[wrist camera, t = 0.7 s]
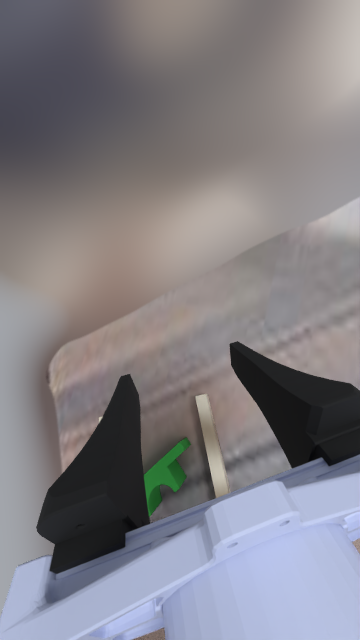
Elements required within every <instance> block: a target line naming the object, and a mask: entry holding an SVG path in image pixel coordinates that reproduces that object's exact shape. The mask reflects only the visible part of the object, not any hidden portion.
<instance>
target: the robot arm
mask: <svg viewBox="0 0 360 640" xmlns="http://www.w3.org/2000/svg"><path fill="white" fill-rule="evenodd" d="M230 355H231V366H232V368H233V369H234V371H235V373H236V375H237V377H238V378H239V380H240V381H241V383H242V384H243V385H244V387H245V388H246V390H247V391H248V392H249V394H250V395H251V396H252V398H253V399H254V401H255V402H256V403H257V405H258V406H259V408H260V410H261V411H262V413H263V415H264V416H265V418H266V420H267V422H268V423H269V425H270V427H271V429H272V430H273V432H274V434H275V436H276V438H277V440H278V442H279V443H280V445H281V447H282V449H283V451H284V453H285V455H286V457H287V459H288V461H289V463H290V465H291V467H292V469H290V470H287V471H285V472H282V473H280V474H277V475H275V476H272V477H269V478H267V479H264V480H262V481H259V482H257V483H254V484H251V485H249V486H246V487H244V488H241V489H238V490H236V491H233V492H231V493H228V494H226V495H223V496H220V497H218V498H215V499H213V500H210V501H208V502H205V503H202V504H200V505H197V506H195V507H192V508H189V509H187V510H184V511H182V512H179V513H177V514H174V515H171V516H169V517H166V518H164V519H161V520H159V521H156V522H153V523H151V524H150V519H149V512H148V505H147V498H146V490H145V482H144V473H143V465H142V455H141V424H140V402H139V394H138V392H137V390H136V387H135V385H134V383H133V380H132V378H131V376H130V374H128V375H124V376H121V377H120V379H119V382H118V384H117V387H116V389H115V392H114V394H113V396H112V399H111V401H110V403H109V405H108V407H107V409H106V411H105V413H104V415H103V417H102V419H101V421H100V422H99V424H98V426H97V428H96V429H95V431H94V432H93V434H92V436H91V437H90V439H89V440H88V442H87V443H86V444H85V446H84V447H83V449H82V450H81V451H80V453H79V454H78V455H77V457H76V458H75V459H74V460H73V462H72V463H71V464H70V465H69V467H68V468H67V469H66V470H65V471H64V472H63V474H62V475H61V476H60V477H59V478H58V479H57V480H56V481H55V483H54V484H53V485H52V486H51V487H50V488H49V489H48V492H47V495H46V497H45V500H44V503H43V506H42V510H41V513H40V517H39V520H38V524H37V527H36V528H37V532H38V533H39V534H40V535H41V536H42V537H44V538H46V539H47V540H49V541H51V542H52V543H54V544H55V547H54V552H53V555H45V556H41V557H39V558H36V559H34V560H31V561H28V562H26V563H23V564H21V565H19V566H18V567H17V568H16V570H15V573H14V576H13V579H12V582H11V586H10V589H9V592H8V595H7V598H6V601H5V604H4V607H3V610H2V614H1V617H0V640H132V639H135V638H138V637H140V636H143V635H146V634H148V633H151V632H153V631H156V630H159V629H161V628H164V627H165V638H166V640H360V554H359V552H358V551H357V549H356V548H355V546H354V545H353V544H352V542H353V541H355V540H357V539H359V538H360V390H358V389H357V388H356V387H354V386H353V385H352V384H350V383H345V382H339V381H334V380H329V379H325V378H321V377H317V376H313V375H310V374H306V373H303V372H300V371H297V370H294V369H292V368H289V367H286V366H284V365H281V364H279V363H277V362H275V361H273V360H270V359H268V358H266V357H264V356H263V355H261V354H259V353H257V352H255V351H253V350H252V349H250V348H248V347H246V346H245V345H243V344H241V343H240V342H238V341H237V342H234V343H231V344H230Z"/></svg>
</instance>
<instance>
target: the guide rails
mask: <svg viewBox="0 0 360 640" xmlns="http://www.w3.org/2000/svg"><path fill="white" fill-rule="evenodd" d="M195 398H196V403H197V407H198V412H199V417H200V422H201V427H202V432H203V437H204V442H205V446H206V451H207V456H208V461H209V466H210V471H211V476H212V480H213V485H214V490H215V495H216V498H218V497H220V496H223V495H226V494H228V493H231V491H230V487H229V483H228V479H227V474H226V470H225V466H224V461H223V457H222V453H221V448H220V444H219V440H218V436H217V431H216V427H215V423H214V418H213V414H212V410H211V405H210V401H209V397H208V395H207V394H203V395H199V396H195ZM101 419H102V417H99V422H100V421H101Z"/></svg>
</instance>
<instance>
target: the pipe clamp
mask: <svg viewBox="0 0 360 640" xmlns="http://www.w3.org/2000/svg"><path fill="white" fill-rule="evenodd" d="M190 445H191V443H190V442H189V441H188V439H187V438H185V439H183V440H182V441H180V442H179V443H178V444H177V445H176V446H175V447H174V448H172V449H171V450H170V451H169V452H168V453H167V454H166V455H165V456H164V457H163V458H162V459H161V460H159V461H158V462H157V463H156V464H155V465H154V466H153V467H152V468H151V469H150V470H149V471H148V472H147V473H145V474H144V482H145V490H146V498H147V505H148V512H149V517H150V516H151V515H152V513H153V512H154V511H155V509H156V508H157V507H158V505H159V504H160V502H161V501H162V498H161V495H160V485H161V484H164V485H167V486H169V487H171V488H172V489H173V491H174V492H176V491H177V490H178V489H179V488H180V487H181V485H182V484H183V482H184V480H185V479H186V477H187V476H186V474H185V473H184V471H183V470H182V468H181V466H180V465H179V463H178V462H177V460H176V458H177V457H178V456H179V455H180V454H181V453H182V452H183V451H184V450H186V449H187V448H188V447H189V446H190Z"/></svg>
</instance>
